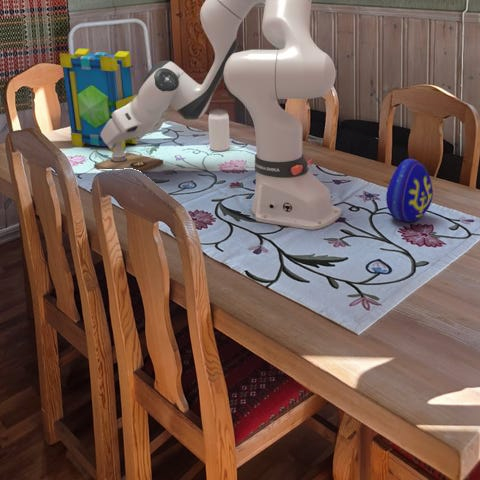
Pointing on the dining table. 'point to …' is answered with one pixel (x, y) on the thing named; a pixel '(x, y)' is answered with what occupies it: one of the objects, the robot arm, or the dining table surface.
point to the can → (219, 130)
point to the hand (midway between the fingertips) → (123, 142)
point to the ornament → (409, 191)
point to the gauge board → (130, 163)
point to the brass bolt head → (138, 163)
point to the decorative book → (95, 92)
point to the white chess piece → (118, 153)
